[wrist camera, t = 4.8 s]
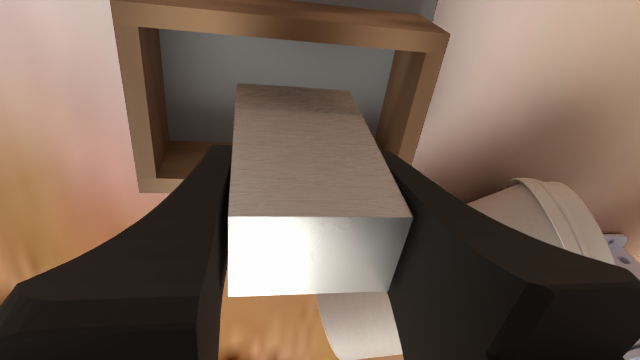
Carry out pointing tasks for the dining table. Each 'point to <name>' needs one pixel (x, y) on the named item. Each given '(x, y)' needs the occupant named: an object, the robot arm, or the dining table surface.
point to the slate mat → (268, 72)
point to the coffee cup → (505, 207)
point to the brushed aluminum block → (309, 196)
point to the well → (275, 23)
